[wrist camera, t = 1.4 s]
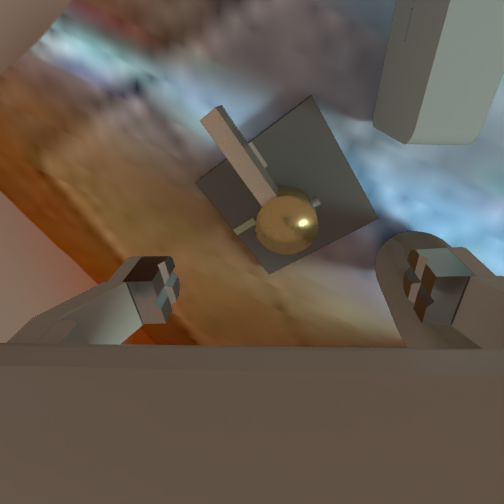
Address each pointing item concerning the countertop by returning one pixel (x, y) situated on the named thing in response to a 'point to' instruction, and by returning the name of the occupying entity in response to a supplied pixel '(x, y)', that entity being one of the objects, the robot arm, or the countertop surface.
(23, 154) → the countertop surface
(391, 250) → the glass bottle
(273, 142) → the plate
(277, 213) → the gold knob with bar
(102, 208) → the countertop surface
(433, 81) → the bar with end hole
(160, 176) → the countertop surface
